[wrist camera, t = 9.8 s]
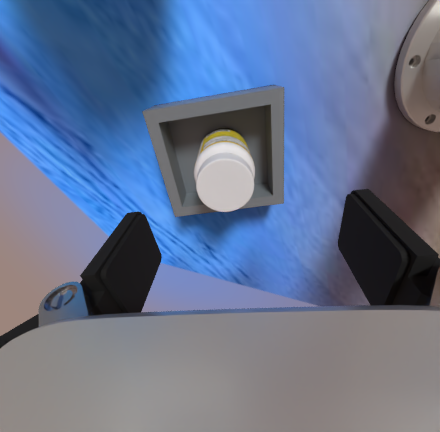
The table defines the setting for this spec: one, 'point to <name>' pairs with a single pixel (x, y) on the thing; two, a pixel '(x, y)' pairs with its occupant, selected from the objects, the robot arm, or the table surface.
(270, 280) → the table surface
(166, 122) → the bin
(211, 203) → the supplement bottle
